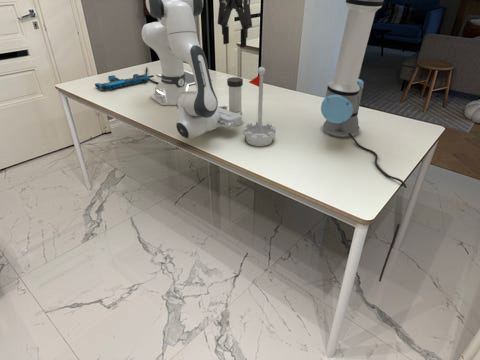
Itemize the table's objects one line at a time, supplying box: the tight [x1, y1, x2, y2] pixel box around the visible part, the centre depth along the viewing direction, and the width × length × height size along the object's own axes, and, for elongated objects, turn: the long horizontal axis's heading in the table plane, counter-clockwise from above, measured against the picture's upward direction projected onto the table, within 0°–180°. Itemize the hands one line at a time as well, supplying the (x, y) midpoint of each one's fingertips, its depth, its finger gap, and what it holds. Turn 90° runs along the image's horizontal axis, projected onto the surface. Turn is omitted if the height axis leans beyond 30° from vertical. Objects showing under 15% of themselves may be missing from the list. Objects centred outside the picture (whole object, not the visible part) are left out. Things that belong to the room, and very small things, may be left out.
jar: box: [228, 86, 242, 126], centre depth 152 cm, size 6×6×20 cm
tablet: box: [156, 69, 196, 87], centre depth 217 cm, size 32×20×1 cm, turn 41°
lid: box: [226, 76, 244, 87], centre depth 147 cm, size 7×7×2 cm
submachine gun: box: [94, 73, 155, 91], centre depth 208 cm, size 34×4×25 cm
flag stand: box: [243, 66, 276, 147], centre depth 134 cm, size 13×13×30 cm
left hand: (233, 110), depth 153 cm, fingers open, 8 cm apart
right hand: (234, 45), depth 138 cm, fingers open, 8 cm apart
